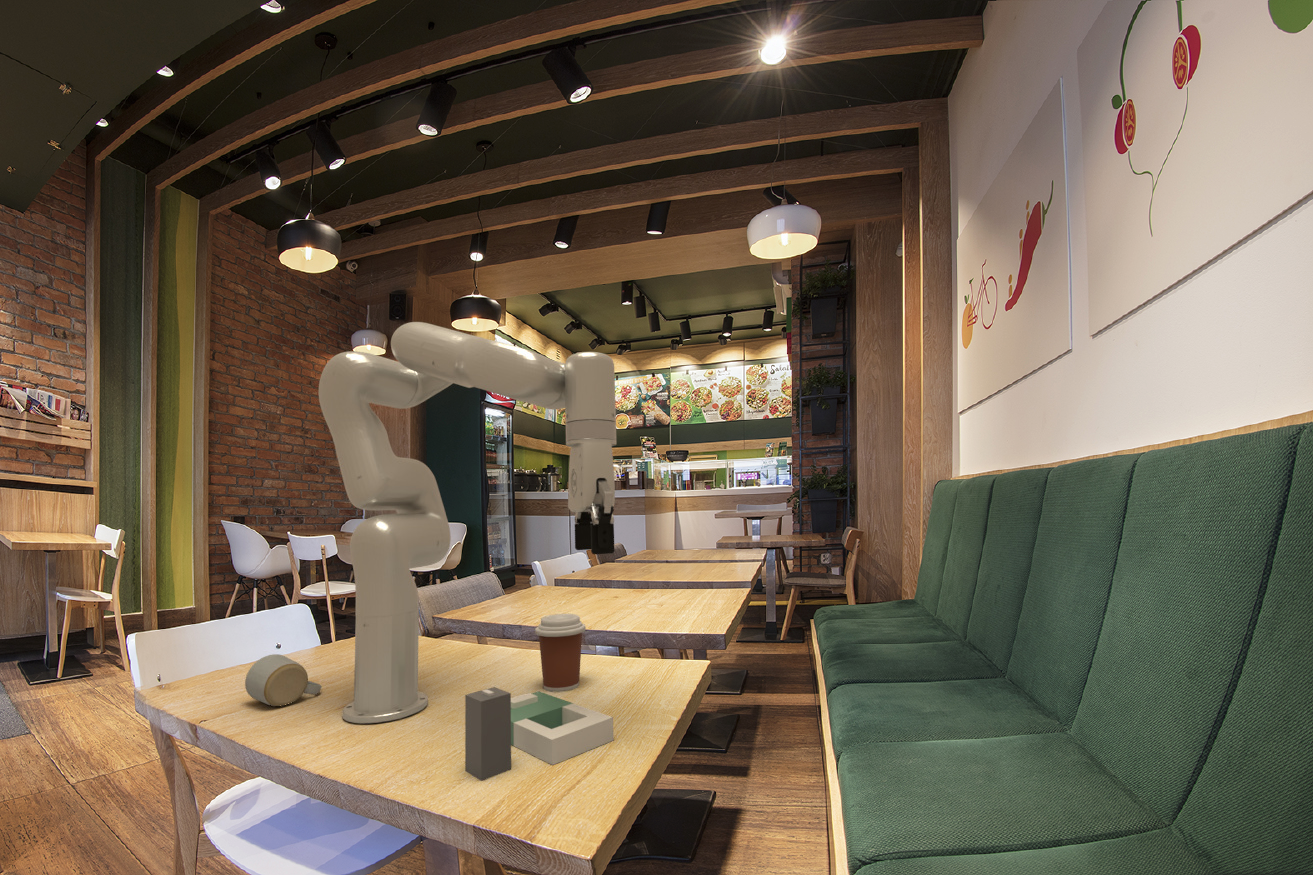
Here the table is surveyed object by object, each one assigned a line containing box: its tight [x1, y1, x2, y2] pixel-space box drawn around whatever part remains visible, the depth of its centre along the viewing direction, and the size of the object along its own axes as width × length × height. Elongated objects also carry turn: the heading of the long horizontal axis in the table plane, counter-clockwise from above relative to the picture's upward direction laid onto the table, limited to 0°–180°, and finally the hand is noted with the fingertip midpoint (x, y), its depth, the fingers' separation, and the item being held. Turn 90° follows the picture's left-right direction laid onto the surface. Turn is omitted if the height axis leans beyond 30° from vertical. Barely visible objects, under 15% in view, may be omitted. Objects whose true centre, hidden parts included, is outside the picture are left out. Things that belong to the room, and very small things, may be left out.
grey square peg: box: [464, 686, 512, 782], centre depth 73 cm, size 4×4×9 cm
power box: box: [511, 691, 614, 766], centre depth 83 cm, size 18×10×4 cm, turn 45°
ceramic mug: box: [244, 653, 323, 707], centre depth 103 cm, size 11×8×8 cm
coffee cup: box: [534, 613, 587, 693], centre depth 106 cm, size 9×9×12 cm
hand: (593, 551), depth 86 cm, fingers open, 9 cm apart
